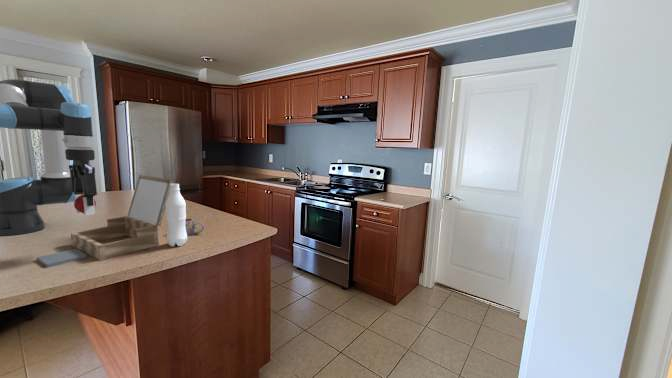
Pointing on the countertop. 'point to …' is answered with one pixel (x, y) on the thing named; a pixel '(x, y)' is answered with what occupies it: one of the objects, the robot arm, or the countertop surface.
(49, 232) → the countertop surface
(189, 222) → the mug
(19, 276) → the countertop surface
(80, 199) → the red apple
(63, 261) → the slate mat
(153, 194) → the lid
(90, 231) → the box
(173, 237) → the water bottle
